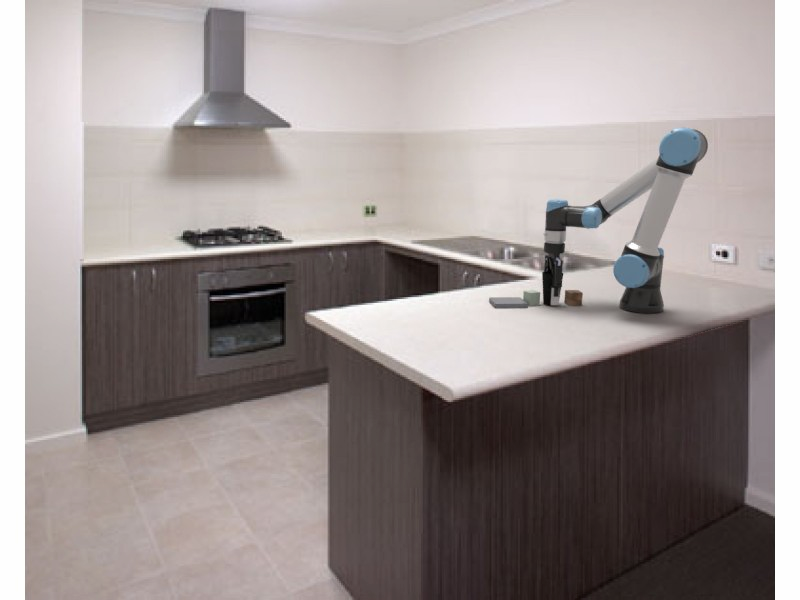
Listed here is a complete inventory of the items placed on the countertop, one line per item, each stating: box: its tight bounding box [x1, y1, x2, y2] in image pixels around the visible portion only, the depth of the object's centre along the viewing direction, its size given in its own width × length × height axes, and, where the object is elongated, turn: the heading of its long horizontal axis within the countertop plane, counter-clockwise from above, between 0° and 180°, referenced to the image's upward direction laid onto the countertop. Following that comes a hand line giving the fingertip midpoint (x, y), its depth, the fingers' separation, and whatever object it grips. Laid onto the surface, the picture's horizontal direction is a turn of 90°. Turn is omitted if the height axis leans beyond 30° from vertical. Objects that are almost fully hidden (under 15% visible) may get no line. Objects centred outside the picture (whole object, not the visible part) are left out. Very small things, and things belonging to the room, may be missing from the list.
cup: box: [541, 270, 564, 307], centre depth 237 cm, size 8×8×12 cm
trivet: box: [488, 296, 529, 309], centre depth 237 cm, size 12×11×2 cm
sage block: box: [522, 289, 541, 307], centre depth 237 cm, size 4×4×5 cm
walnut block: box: [563, 289, 584, 307], centre depth 238 cm, size 5×5×5 cm
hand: (550, 302), depth 238 cm, fingers open, 8 cm apart
